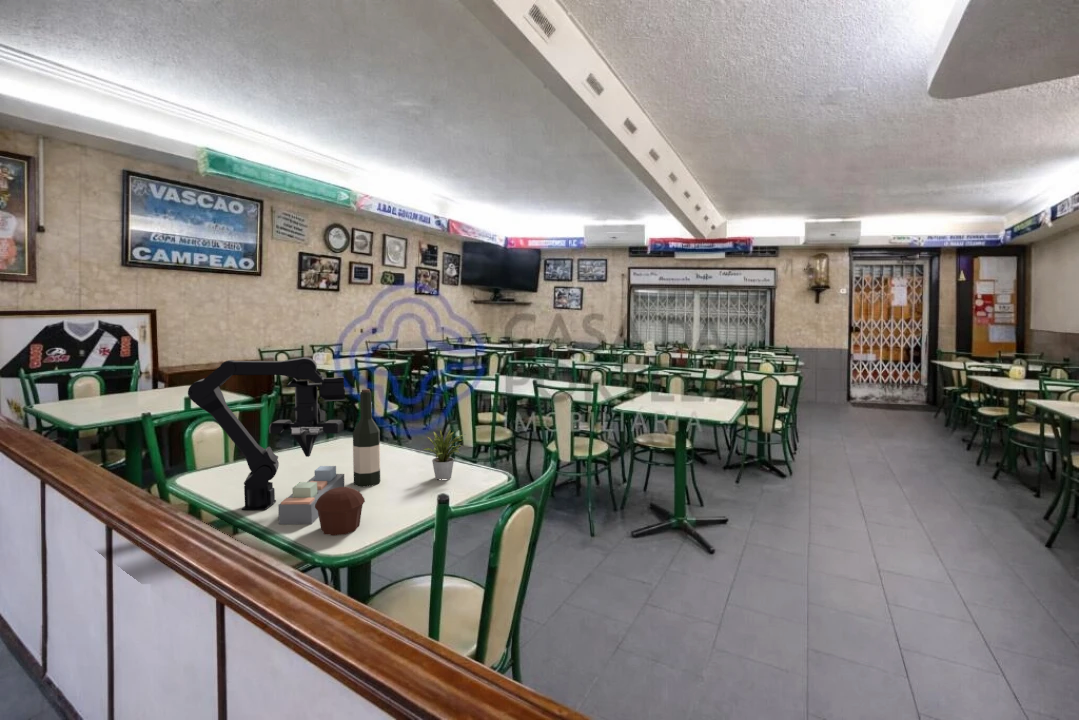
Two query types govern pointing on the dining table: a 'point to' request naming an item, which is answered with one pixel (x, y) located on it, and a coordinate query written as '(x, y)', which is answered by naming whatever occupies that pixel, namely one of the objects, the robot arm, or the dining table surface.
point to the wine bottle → (366, 445)
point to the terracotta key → (320, 484)
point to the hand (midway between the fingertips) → (308, 456)
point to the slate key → (325, 473)
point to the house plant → (443, 455)
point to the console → (305, 504)
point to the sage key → (305, 490)
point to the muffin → (340, 510)
